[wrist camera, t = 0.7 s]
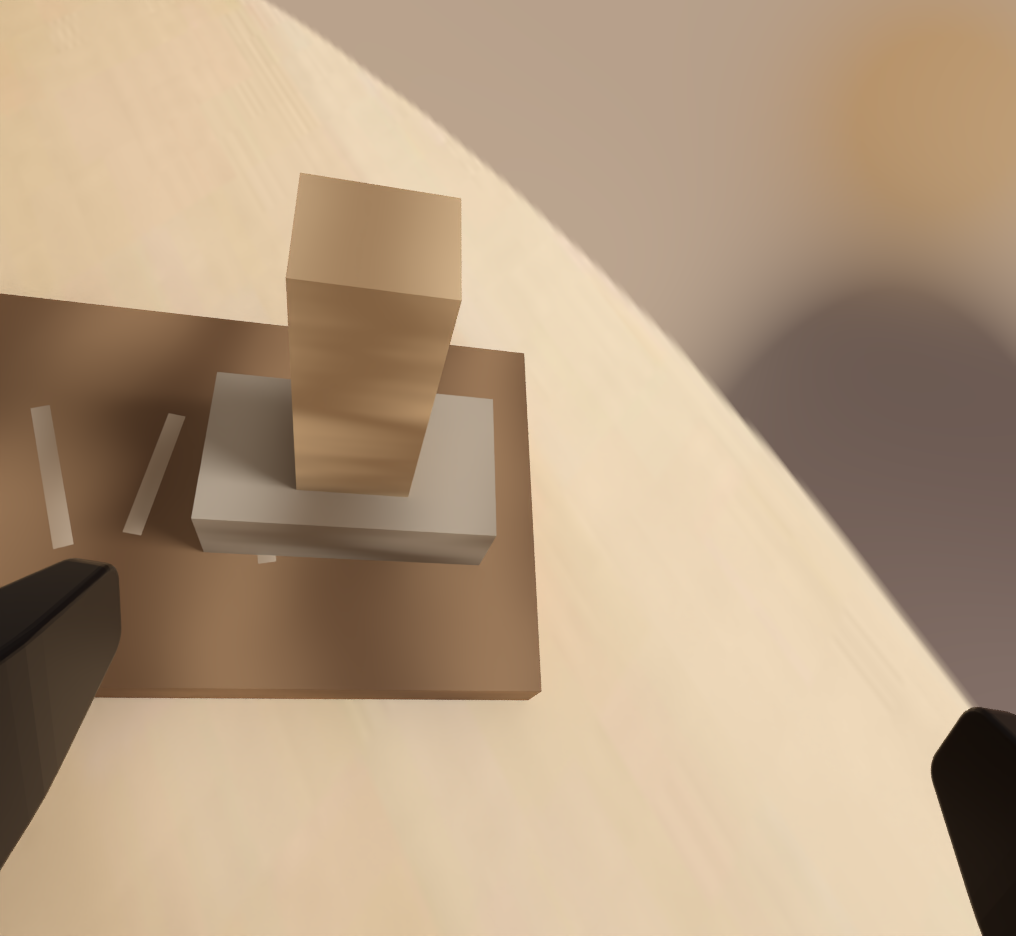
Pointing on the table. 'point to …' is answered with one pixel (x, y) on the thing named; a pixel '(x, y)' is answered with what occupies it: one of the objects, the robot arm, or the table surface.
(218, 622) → the walnut board
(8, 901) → the table surface
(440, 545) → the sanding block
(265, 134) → the table surface
